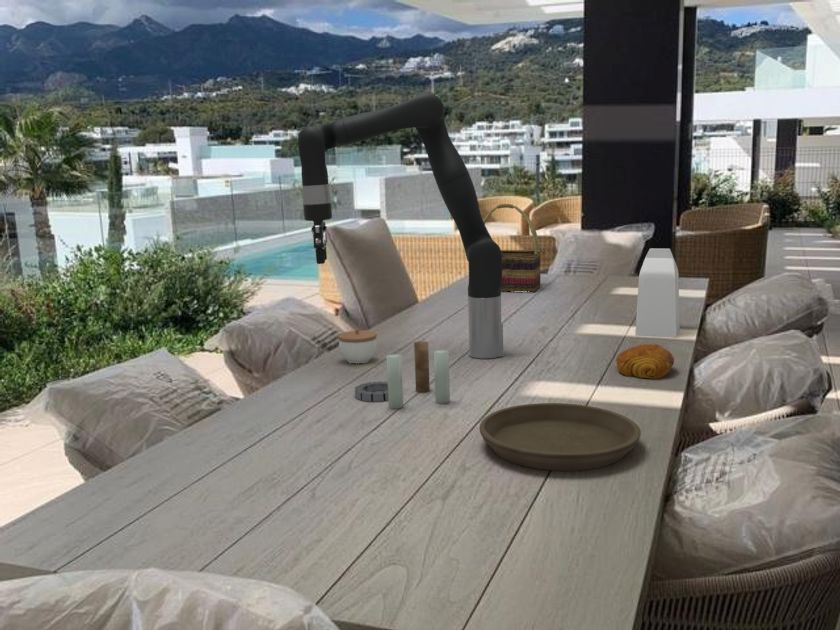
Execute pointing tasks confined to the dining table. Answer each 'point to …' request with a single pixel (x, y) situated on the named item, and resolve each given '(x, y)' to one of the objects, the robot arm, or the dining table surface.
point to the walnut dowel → (422, 366)
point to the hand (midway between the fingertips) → (322, 261)
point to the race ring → (366, 393)
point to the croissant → (645, 361)
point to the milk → (658, 296)
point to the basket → (520, 262)
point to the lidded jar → (357, 345)
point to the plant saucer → (559, 436)
